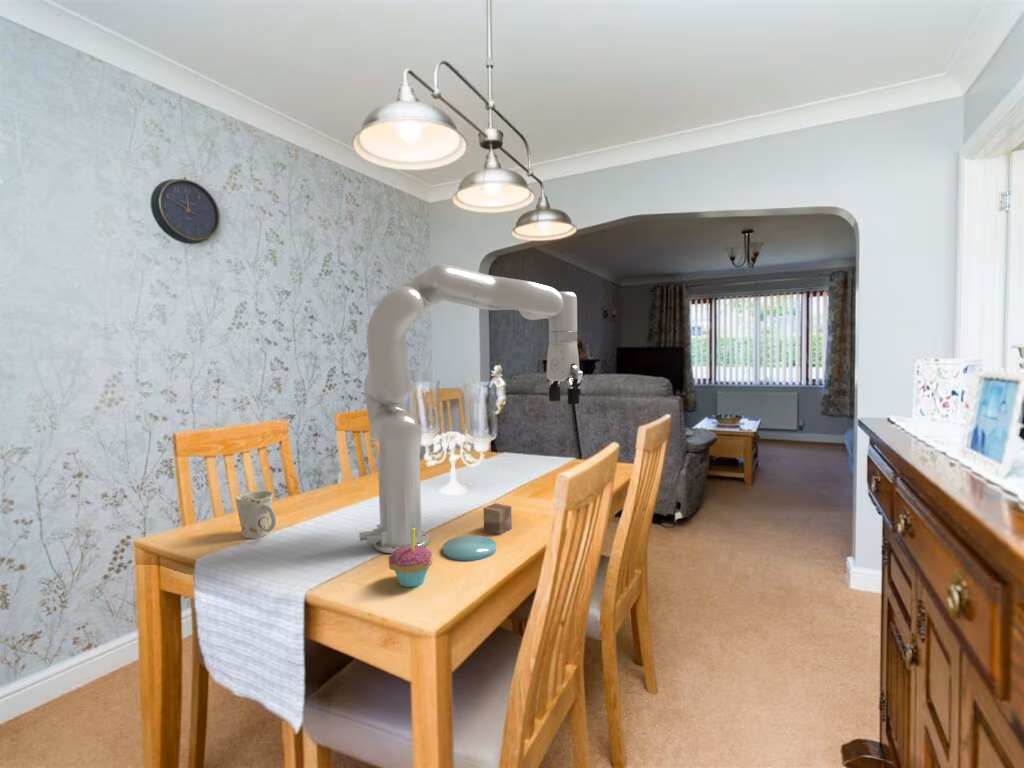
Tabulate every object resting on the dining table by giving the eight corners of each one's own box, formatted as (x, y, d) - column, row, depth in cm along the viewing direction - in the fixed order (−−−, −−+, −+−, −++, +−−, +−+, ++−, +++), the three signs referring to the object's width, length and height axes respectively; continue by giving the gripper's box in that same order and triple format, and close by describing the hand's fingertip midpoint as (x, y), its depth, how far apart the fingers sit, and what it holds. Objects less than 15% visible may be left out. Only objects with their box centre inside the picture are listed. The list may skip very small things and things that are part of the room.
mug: (261, 526, 135) (259, 489, 134) (292, 534, 128) (290, 495, 128) (230, 536, 128) (228, 497, 127) (261, 545, 121) (259, 504, 121)
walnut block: (500, 535, 126) (499, 511, 126) (484, 531, 129) (483, 508, 128) (511, 529, 130) (511, 506, 130) (495, 525, 133) (495, 503, 132)
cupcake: (440, 583, 100) (439, 523, 99) (399, 596, 95) (397, 532, 94) (421, 569, 107) (419, 512, 106) (382, 580, 102) (380, 520, 101)
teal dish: (453, 564, 109) (452, 559, 108) (436, 545, 119) (436, 540, 119) (504, 554, 114) (504, 549, 114) (484, 537, 125) (483, 532, 124)
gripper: (535, 339, 143) (536, 400, 144) (567, 337, 128) (568, 406, 129) (559, 339, 147) (559, 399, 148) (593, 337, 131) (593, 404, 132)
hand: (563, 402), depth 138 cm, fingers open, 9 cm apart
